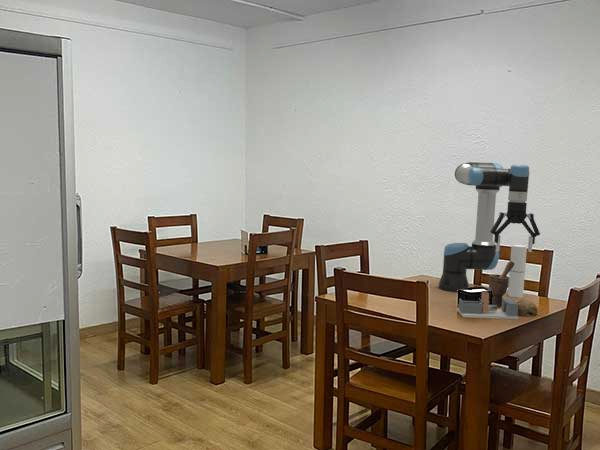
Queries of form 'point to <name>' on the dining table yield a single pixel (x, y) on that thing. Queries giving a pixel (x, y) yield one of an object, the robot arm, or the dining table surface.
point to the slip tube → (486, 303)
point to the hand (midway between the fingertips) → (513, 251)
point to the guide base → (475, 311)
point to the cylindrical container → (517, 271)
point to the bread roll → (526, 308)
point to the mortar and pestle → (499, 284)
